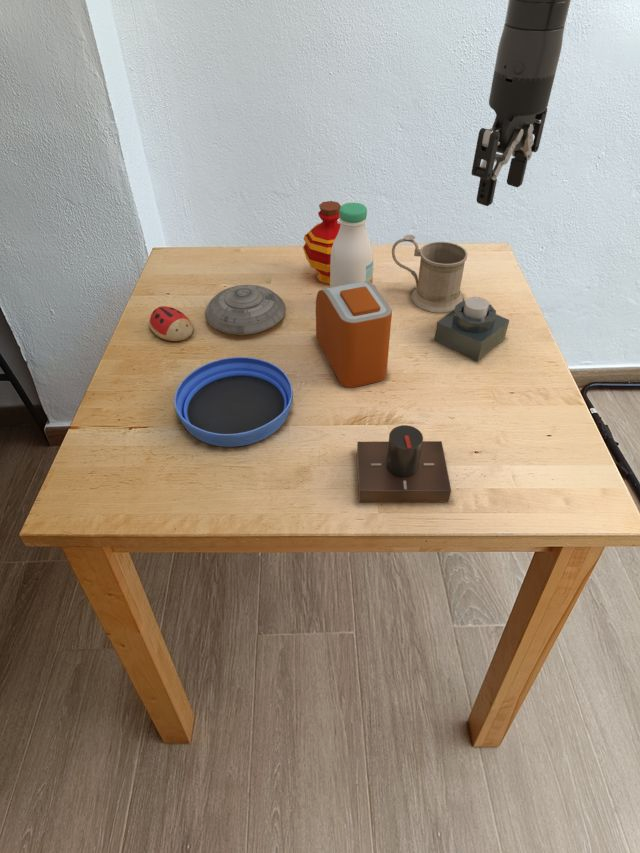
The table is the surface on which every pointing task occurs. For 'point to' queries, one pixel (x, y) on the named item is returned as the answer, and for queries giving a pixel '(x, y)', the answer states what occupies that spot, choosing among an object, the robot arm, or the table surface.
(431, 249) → the mug
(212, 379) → the bowl
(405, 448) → the dial
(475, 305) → the grey push button
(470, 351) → the push button base
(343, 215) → the milk bottle
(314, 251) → the potion bottle
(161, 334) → the ladybug figurine
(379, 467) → the dial panel
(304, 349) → the table surface
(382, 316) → the alarm clock
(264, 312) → the flying saucer
